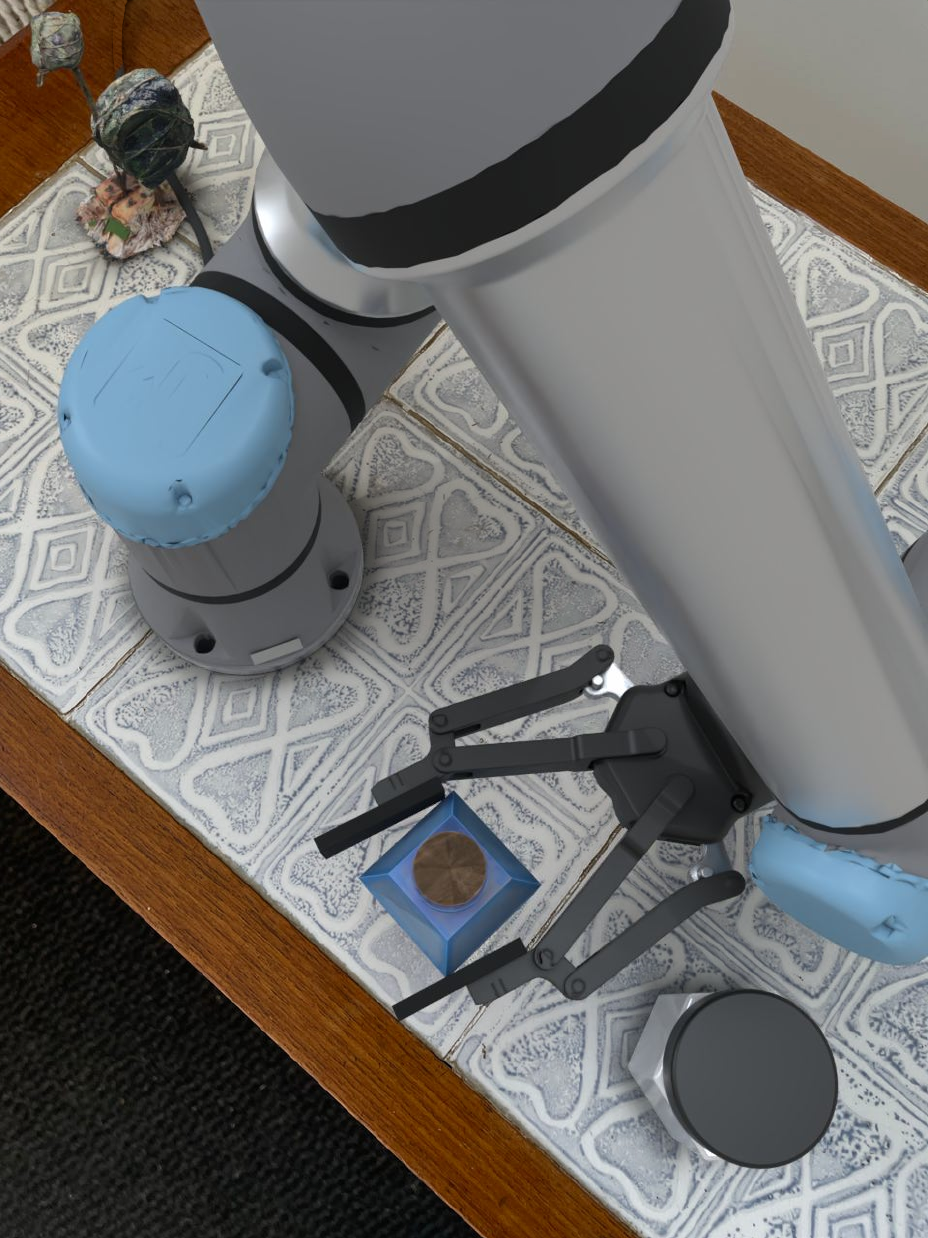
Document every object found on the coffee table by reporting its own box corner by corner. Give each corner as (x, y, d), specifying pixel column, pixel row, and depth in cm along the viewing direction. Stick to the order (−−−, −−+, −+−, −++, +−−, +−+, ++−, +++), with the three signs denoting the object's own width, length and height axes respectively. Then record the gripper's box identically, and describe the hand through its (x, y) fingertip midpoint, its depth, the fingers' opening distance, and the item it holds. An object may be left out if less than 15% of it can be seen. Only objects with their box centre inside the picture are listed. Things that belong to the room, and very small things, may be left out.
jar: (739, 1175, 63) (800, 1213, 52) (608, 1103, 65) (640, 1125, 53) (798, 1025, 66) (869, 1031, 55) (671, 958, 67) (714, 950, 56)
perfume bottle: (453, 809, 61) (453, 767, 49) (532, 895, 59) (552, 872, 48) (367, 889, 59) (347, 864, 48) (446, 979, 58) (445, 976, 47)
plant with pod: (241, 220, 84) (177, -6, 65) (98, 276, 82) (-9, 61, 63) (200, 141, 86) (128, -100, 67) (61, 194, 85) (-54, -37, 66)
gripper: (860, 906, 57) (456, 1133, 53) (655, 568, 62) (278, 753, 59) (918, 894, 49) (457, 1155, 46) (681, 513, 55) (254, 720, 52)
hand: (357, 929), depth 52 cm, fingers closed on perfume bottle, 8 cm apart
